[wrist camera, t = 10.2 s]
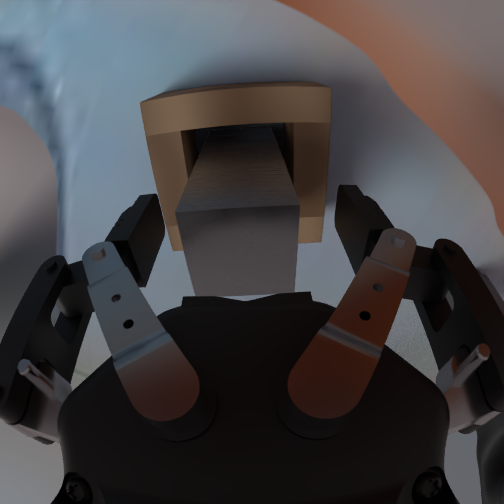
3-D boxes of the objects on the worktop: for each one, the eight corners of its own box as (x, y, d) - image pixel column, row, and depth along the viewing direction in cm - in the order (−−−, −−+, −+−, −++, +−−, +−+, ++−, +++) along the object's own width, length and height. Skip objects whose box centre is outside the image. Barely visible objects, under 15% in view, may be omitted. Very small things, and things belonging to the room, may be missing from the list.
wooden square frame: (313, 82, 15) (331, 87, 12) (310, 211, 22) (321, 242, 18) (160, 93, 15) (139, 102, 12) (182, 219, 22) (172, 251, 19)
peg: (270, 126, 17) (300, 205, 9) (271, 179, 20) (294, 292, 11) (210, 130, 17) (174, 212, 9) (216, 182, 20) (195, 297, 11)
